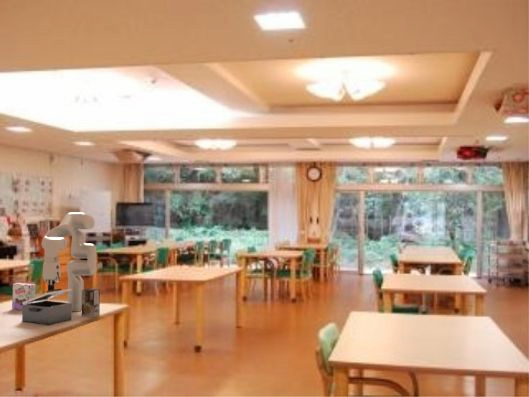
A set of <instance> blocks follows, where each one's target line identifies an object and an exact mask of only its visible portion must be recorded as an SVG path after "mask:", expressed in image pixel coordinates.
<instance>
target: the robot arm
mask: <svg viewBox="0 0 529 397" xmlns="http://www.w3.org/2000/svg"><path fill="white" fill-rule="evenodd" d="M95 223H96V222H95V218H94V217H93V216H92V215H90V214H87V213H84V212H68V213H66V214H65V215H64V217H63V218H62V220H61V222H60V223H59V225H57V226H55V227H53V228H51V229H50V230H47V232H45V234H44V236H43V238H42V239H41V240H42V241H41V248H42V249H44V262H43V265H42V279H43V281H44V282H46V285H47V291H48V290H55V286H56V284H57V283H59V282H60V279H61V278H62V276H61V273H62V272H61V264H60V262H59V260H60V259H59V251H63V250H66V248H67V247H68V243H69V242H68V240H67V238H66V237H68V236H70V235H71V244H70V245H71V247H70V255H71V257H72V258H74V260H70V261H68V262H67V265H66V271H67V272H66V273H67V282H68V283H67V289H71V290H72V291H70V292H67V303H72V312H82V290H84V289H85V287H84V286H85V284H84V282H85V281H84V279H83V278H82V276H93V275H94V274H95V273H96V272H95V271H96V264H97V246H96V245H95V244H94V243H86V238H87V236H86V234H85V233H86V232H84V230H92V229H94V226H95ZM83 259H87V260H83Z"/></svg>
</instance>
